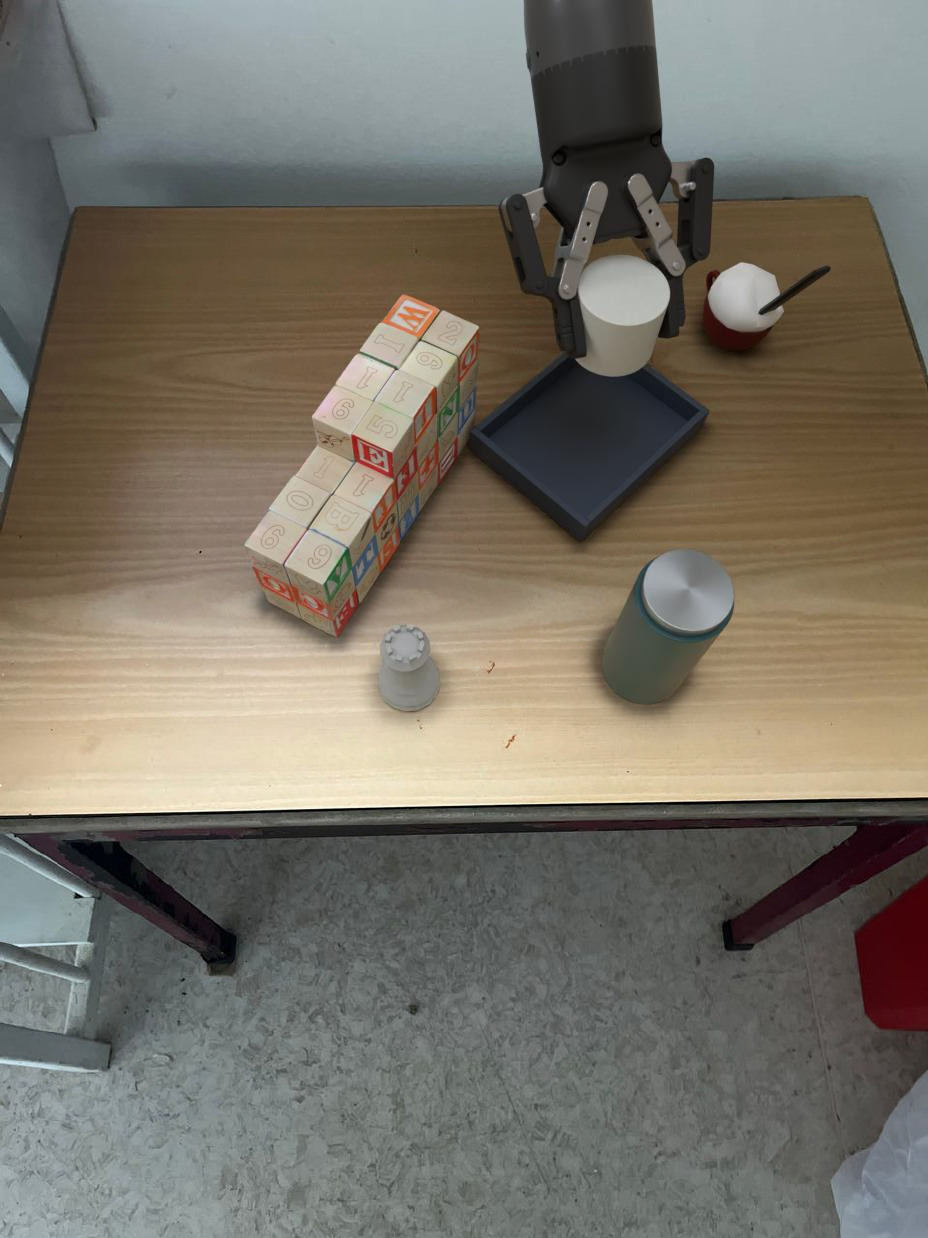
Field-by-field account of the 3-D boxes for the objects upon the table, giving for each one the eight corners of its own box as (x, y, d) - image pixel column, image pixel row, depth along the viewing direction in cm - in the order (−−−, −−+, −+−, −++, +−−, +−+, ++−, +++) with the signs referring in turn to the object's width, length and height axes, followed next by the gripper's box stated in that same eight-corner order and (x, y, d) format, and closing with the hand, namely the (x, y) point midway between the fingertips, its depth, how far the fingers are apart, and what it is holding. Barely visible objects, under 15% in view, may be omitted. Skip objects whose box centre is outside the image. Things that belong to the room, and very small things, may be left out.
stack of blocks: (338, 641, 62) (315, 564, 51) (267, 603, 63) (228, 520, 52) (476, 430, 70) (481, 323, 59) (410, 400, 71) (403, 289, 60)
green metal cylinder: (637, 611, 64) (681, 525, 52) (699, 665, 62) (760, 588, 50) (584, 665, 62) (617, 588, 50) (647, 721, 60) (697, 656, 48)
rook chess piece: (447, 703, 60) (448, 664, 53) (387, 720, 60) (379, 683, 53) (431, 647, 62) (429, 602, 55) (371, 663, 62) (361, 620, 54)
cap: (605, 295, 61) (619, 239, 56) (670, 342, 59) (689, 289, 55) (549, 341, 59) (558, 287, 55) (614, 391, 58) (629, 340, 53)
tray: (591, 345, 74) (595, 325, 71) (701, 428, 70) (710, 410, 68) (468, 449, 69) (469, 430, 67) (580, 542, 66) (585, 526, 64)
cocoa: (685, 299, 76) (726, 182, 65) (753, 295, 76) (806, 178, 65) (707, 384, 72) (754, 276, 61) (779, 380, 73) (839, 271, 62)
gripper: (492, 63, 46) (539, 374, 53) (733, 21, 48) (749, 327, 55) (463, 93, 53) (507, 365, 60) (675, 55, 55) (695, 323, 62)
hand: (623, 346), depth 57 cm, fingers closed on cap, 6 cm apart
